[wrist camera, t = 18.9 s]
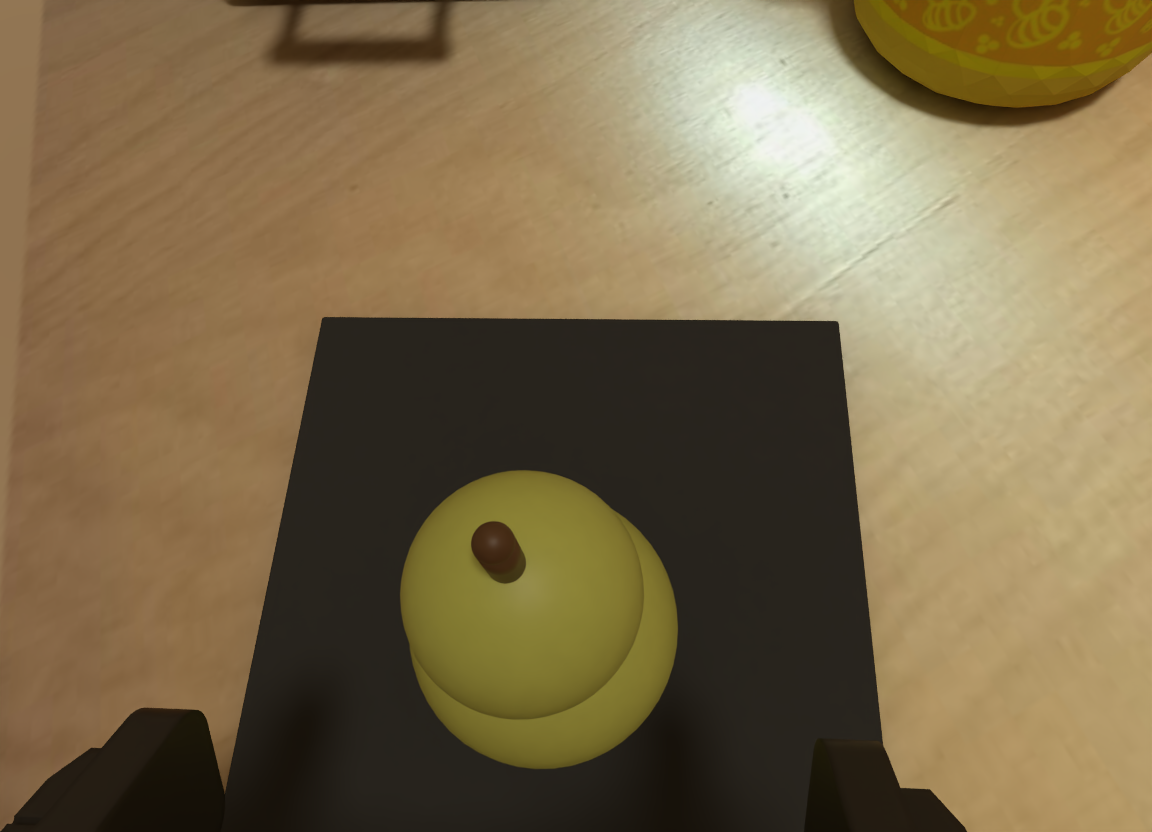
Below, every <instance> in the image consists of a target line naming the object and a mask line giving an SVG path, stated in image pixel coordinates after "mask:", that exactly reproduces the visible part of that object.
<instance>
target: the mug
mask: <svg viewBox="0 0 1152 832" xmlns="http://www.w3.org/2000/svg"><path fill="white" fill-rule="evenodd" d="M854 6H855V12H856V17H857V19H858V21H859V23H860V25H861V26H862V28H863V29H864V31H865V33H866V34H867V36H868V37H869V39H870V41H871V42H872V44H873V46H874V47H875V49H876V50H877V52H878V53H880V54H881V55H882V56H883V57H884V58H885V59H887V60H888V61H889V62H890V63H891V64H892V65H894V66H895V67H896V68H897V69H898V70H899V71H901V72H902V73H903V74H905V75H906V76H908V77H910V78H912V79H913V80H915V81H917V82H919V83H920V84H922V85H924V86H925V87H927V88H929V89H931V90H932V91H934V92H936V93H939V94H943V95H947V96H951V97H954V98H958V99H962V100H966V101H969V102H973V103H978V104H984V105H990V106H1002V107H1015V108H1018V107H1031V106H1044V105H1056V104H1059V103H1063V102H1066V101H1070V100H1073V99H1077V98H1080V97H1083V96H1087V95H1090V94H1092V93H1094V92H1096V91H1097V90H1099V89H1101V88H1102V87H1104V86H1106V85H1108V84H1109V83H1111V82H1113V81H1114V80H1116V79H1118V78H1120V77H1121V76H1123V75H1125V74H1126V73H1128V72H1130V71H1131V70H1132V69H1133V68H1134V67H1135V66H1137V65H1138V64H1139V63H1140V62H1141V61H1143V60H1144V59H1145V58H1146V57H1147V56H1148V55H1150V54H1151V53H1152V0H854Z"/></svg>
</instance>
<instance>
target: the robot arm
mask: <svg viewBox="0 0 1152 832" xmlns="http://www.w3.org/2000/svg"><path fill="white" fill-rule="evenodd" d="M224 813H225V794H224V789H223V785H222V781H221V777H220V773H219V769H218V764H217V760H216V756H215V752H214V748H213V744H212V739H211V735H210V731H209V727H208V723H207V720H206V717H205V716H204V714H203V713H202V712H201V711H199V710H187V709H163V708H140V709H138V710H136V711H135V712H133V713H132V714H131V715H130V716H129V717H128V718H127V719H126V720H125V721H124V722H123V724H122V725H121V726H120V727H119V728H118V729H117V731H116V732H115V733H114V734H113V735H112V736H111V738H110V739H109V740H108V741H107V742H106V743H105V745H104V746H103V747H102V748H90V749H89V750H88V751H86V752H85V753H83V754H82V755H81V756H79V757H78V758H76V759H75V760H74V761H72V762H71V763H69V764H68V765H67V766H65V767H64V768H62V769H61V770H60V771H58V772H57V773H55V774H54V775H53V776H51V777H50V778H48V779H47V780H46V781H45V783H44V784H43V785H42V786H41V787H40V788H39V789H38V790H37V791H36V793H35V794H34V795H33V796H32V797H31V798H30V799H29V800H28V801H27V803H26V804H25V805H24V806H23V807H22V808H21V809H20V810H19V812H18V813H17V814H16V815H15V816H14V821H13V823H12V824H7V825H6V826H5V827H4V828H3V829H2V831H1V832H220V831H221V828H222V824H223V819H224ZM804 832H967V831H966V829H965V827H964V826H963V825H962V824H961V823H960V822H959V821H958V819H957V818H956V817H955V816H954V815H953V814H952V813H951V812H950V811H949V810H948V809H947V808H946V806H945V805H944V804H943V803H942V802H941V801H940V800H939V799H938V798H937V797H936V796H935V795H934V793H933V792H932V791H931V790H930V789H910V788H900V786H899V783H898V781H897V778H896V776H895V773H894V770H893V768H892V765H891V763H890V760H889V758H888V755H887V753H886V751H885V748H884V747H883V745H882V744H881V743H880V742H879V741H870V740H847V739H823V738H818V739H817V740H816V742H815V745H814V751H813V759H812V767H811V775H810V784H809V792H808V800H807V808H806V817H805V825H804Z"/></svg>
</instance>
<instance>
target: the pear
mask: <svg viewBox="0 0 1152 832" xmlns="http://www.w3.org/2000/svg"><path fill="white" fill-rule="evenodd" d="M400 603H401V614H402V620H403V625H404V629H405V632H406V635H407V638H408V641H409V646H410V653H411V658H412V663H413V667H414V670H415V673H416V677H417V680H418V683H419V685H420V688H421V690H422V692H423V694H424V696H425V698H426V700H427V702H428V704H429V705H430V707H431V708H432V710H433V711H434V713H435V714H436V716H437V717H438V718H439V720H440V721H441V722H442V723H443V724H444V725H445V726H446V727H447V729H448V730H449V731H450V732H451V733H452V734H454V735H455V736H456V737H457V738H458V739H459V740H461V741H462V742H463V743H464V744H466V745H467V746H469V747H471V748H472V749H474V750H475V751H477V752H479V753H480V754H483V755H485V756H487V757H489V758H492V759H494V760H496V761H498V762H502V763H505V764H509V765H512V766H516V767H523V768H530V769H555V768H562V767H568V766H573V765H576V764H579V763H583V762H586V761H589V760H591V759H593V758H596V757H598V756H600V755H602V754H604V753H606V752H608V751H609V750H611V749H612V748H614V747H615V746H617V745H618V744H620V743H621V742H623V741H624V740H625V739H626V738H627V737H629V736H630V735H631V734H632V733H633V732H634V731H635V730H637V728H638V727H639V726H640V725H641V724H642V723H643V722H644V720H645V719H646V718H647V717H648V716H649V714H650V713H651V711H652V710H653V708H654V707H655V705H656V704H657V702H658V701H659V699H660V697H661V695H662V693H663V691H664V689H665V687H666V685H667V683H668V680H669V677H670V674H671V671H672V668H673V664H674V659H675V654H676V648H677V635H678V622H677V608H676V603H675V598H674V593H673V589H672V586H671V583H670V580H669V577H668V574H667V572H666V570H665V568H664V566H663V564H662V562H661V560H660V558H659V556H658V555H657V553H656V552H655V550H654V549H653V547H652V546H651V544H650V543H649V542H648V540H647V539H646V538H645V537H644V536H643V535H642V534H641V532H640V531H639V530H638V529H637V528H636V527H635V526H634V525H632V524H631V523H630V522H629V521H628V520H627V519H626V518H625V517H623V516H622V515H620V514H619V513H617V512H616V511H614V510H613V509H611V508H610V507H609V506H608V505H607V504H606V503H605V502H604V501H603V500H602V499H601V498H599V497H598V496H597V495H596V494H595V493H593V492H592V491H590V490H589V489H587V488H586V487H584V486H582V485H580V484H578V483H576V482H575V481H573V480H570V479H568V478H565V477H562V476H559V475H556V474H551V473H546V472H541V471H530V470H518V471H507V472H501V473H496V474H492V475H489V476H486V477H483V478H480V479H478V480H475V481H473V482H471V483H469V484H467V485H465V486H464V487H462V488H460V489H458V490H457V491H455V492H454V493H453V494H451V495H450V496H449V497H447V498H446V499H445V500H444V501H443V502H442V503H441V504H440V505H439V506H438V507H437V508H435V509H434V511H433V512H432V513H431V514H430V515H429V517H428V518H427V519H426V520H425V522H424V523H423V525H422V526H421V528H420V530H419V531H418V533H417V534H416V536H415V539H414V541H413V543H412V545H411V547H410V549H409V552H408V555H407V558H406V561H405V564H404V569H403V574H402V579H401V590H400Z"/></svg>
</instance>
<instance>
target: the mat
mask: <svg viewBox="0 0 1152 832" xmlns="http://www.w3.org/2000/svg"><path fill="white" fill-rule="evenodd" d="M518 470H530V471H541V472H546V473H551V474H556V475H559V476H562V477H565V478H568V479H570V480H573V481H575V482H576V483H578V484H580V485H582V486H584V487H586V488H587V489H589V490H590V491H592V492H593V493H595V494H596V495H597V496H598V497H599V498H601V499H602V500H603V501H604V502H605V503H606V504H607V505H608V506H609V507H610V508H611V509H613V510H614V511H616V512H617V513H619V514H620V515H622V516H623V517H625V518H626V519H627V520H628V521H629V522H630V523H631V524H632V525H634V526H635V527H636V528H637V529H638V530H639V531H640V532H641V534H642V535H643V536H644V537H645V538H646V539H647V540H648V542H649V543H650V544H651V546H652V547H653V549H654V550H655V552H656V553H657V555H658V556H659V558H660V560H661V562H662V564H663V566H664V568H665V570H666V572H667V574H668V577H669V580H670V583H671V586H672V589H673V593H674V598H675V603H676V608H677V622H678V635H677V648H676V654H675V659H674V664H673V668H672V671H671V674H670V677H669V680H668V683H667V685H666V687H665V689H664V691H663V693H662V695H661V697H660V699H659V701H658V702H657V704H656V705H655V707H654V708H653V710H652V711H651V713H650V714H649V716H648V717H647V718H646V719H645V720H644V722H643V723H642V724H641V725H640V726H639V727H638V728H637V730H635V731H634V732H633V733H632V734H631V735H630V736H629V737H627V738H626V739H625V740H624V741H623V742H621V743H620V744H618V745H617V746H615V747H614V748H612V749H611V750H609V751H608V752H606V753H604V754H602V755H600V756H598V757H596V758H593V759H591V760H589V761H586V762H583V763H579V764H576V765H573V766H568V767H562V768H555V769H530V768H523V767H516V766H512V765H509V764H505V763H502V762H498V761H496V760H494V759H492V758H489V757H487V756H485V755H483V754H480V753H479V752H477V751H475V750H474V749H472V748H471V747H469V746H467V745H466V744H464V743H463V742H462V741H461V740H459V739H458V738H457V737H456V736H455V735H454V734H452V733H451V732H450V731H449V730H448V729H447V727H446V726H445V725H444V724H443V723H442V722H441V721H440V720H439V718H438V717H437V716H436V714H435V713H434V711H433V710H432V708H431V707H430V705H429V704H428V702H427V700H426V698H425V696H424V694H423V692H422V690H421V688H420V685H419V683H418V680H417V677H416V673H415V670H414V667H413V663H412V658H411V653H410V646H409V641H408V638H407V635H406V632H405V629H404V625H403V620H402V614H401V603H400V590H401V579H402V574H403V569H404V564H405V561H406V558H407V555H408V552H409V549H410V547H411V545H412V543H413V541H414V539H415V536H416V534H417V533H418V531H419V530H420V528H421V526H422V525H423V523H424V522H425V520H426V519H427V518H428V517H429V515H430V514H431V513H432V512H433V511H434V509H435V508H437V507H438V506H439V505H440V504H441V503H442V502H443V501H444V500H445V499H446V498H447V497H449V496H450V495H451V494H453V493H454V492H455V491H457V490H458V489H460V488H462V487H464V486H465V485H467V484H469V483H471V482H473V481H475V480H478V479H480V478H483V477H486V476H489V475H492V474H496V473H501V472H507V471H518ZM818 738H823V739H847V740H870V741H879V742H880V743H881V744H882V745H883V741H882V731H881V722H880V712H879V703H878V693H877V684H876V674H875V665H874V655H873V646H872V636H871V627H870V617H869V608H868V598H867V589H866V579H865V569H864V560H863V550H862V541H861V531H860V522H859V512H858V503H857V493H856V484H855V474H854V465H853V455H852V446H851V436H850V427H849V417H848V408H847V398H846V389H845V379H844V370H843V360H842V351H841V341H840V332H839V324H838V322H837V321H744V320H616V319H488V318H359V317H324V318H323V319H322V323H321V328H320V332H319V337H318V342H317V347H316V352H315V357H314V362H313V367H312V372H311V376H310V381H309V386H308V391H307V396H306V401H305V406H304V411H303V415H302V420H301V425H300V430H299V435H298V440H297V445H296V450H295V454H294V459H293V464H292V469H291V474H290V479H289V484H288V489H287V494H286V498H285V503H284V508H283V513H282V518H281V523H280V528H279V533H278V537H277V542H276V547H275V552H274V557H273V562H272V567H271V572H270V577H269V581H268V586H267V591H266V596H265V601H264V606H263V611H262V616H261V620H260V625H259V630H258V635H257V640H256V645H255V650H254V655H253V660H252V664H251V669H250V674H249V679H248V684H247V689H246V694H245V699H244V703H243V708H242V713H241V718H240V723H239V728H238V733H237V738H236V742H235V747H234V752H233V757H232V762H231V767H230V772H229V777H228V782H227V786H226V791H225V813H224V819H223V824H222V828H221V831H220V832H804V825H805V817H806V808H807V800H808V792H809V784H810V775H811V767H812V759H813V751H814V745H815V742H816V740H817V739H818Z"/></svg>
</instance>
